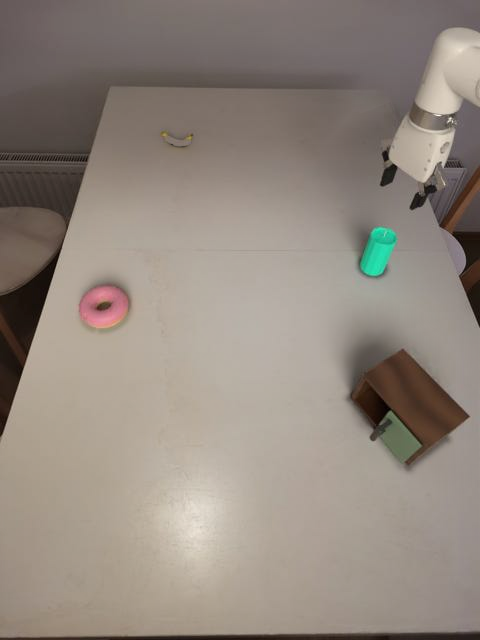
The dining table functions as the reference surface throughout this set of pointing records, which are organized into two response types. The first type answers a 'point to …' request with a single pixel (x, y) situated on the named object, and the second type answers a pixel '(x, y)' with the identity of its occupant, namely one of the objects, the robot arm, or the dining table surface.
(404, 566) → the dining table surface
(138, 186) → the dining table surface
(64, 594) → the dining table surface
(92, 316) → the doughnut
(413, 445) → the sliding door
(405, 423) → the cupboard
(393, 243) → the candle
